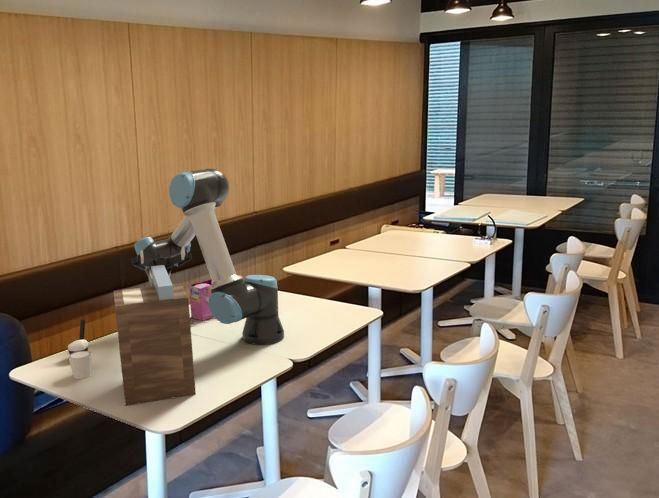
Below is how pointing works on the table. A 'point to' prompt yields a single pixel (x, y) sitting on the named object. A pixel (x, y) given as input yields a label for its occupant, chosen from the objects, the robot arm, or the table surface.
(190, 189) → the robot arm
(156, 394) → the shelf
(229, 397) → the table surface
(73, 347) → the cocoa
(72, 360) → the shot glass
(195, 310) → the gum box
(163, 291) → the rod
